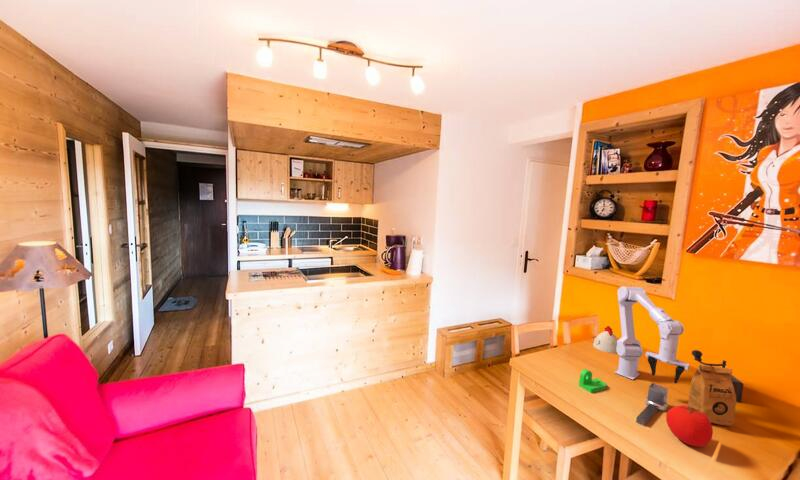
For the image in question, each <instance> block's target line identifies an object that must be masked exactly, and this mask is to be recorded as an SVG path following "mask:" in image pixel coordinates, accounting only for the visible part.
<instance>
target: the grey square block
mask: <svg viewBox="0 0 800 480" xmlns="http://www.w3.org/2000/svg"><path fill="white" fill-rule="evenodd" d="M668 390H669V388H667V387H665V386H663V385H659V384H656V383H653V382H652V383H651V384H649V386H648V390H647V391H648V392H647V397H648V399H647V400H648V401H651V402H653V403H656V404H658V405H661V406H663V405H664V404H665V403H667V400H668Z"/></svg>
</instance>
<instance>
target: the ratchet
mask: <svg viewBox="0 0 800 480" xmlns="http://www.w3.org/2000/svg"><path fill="white" fill-rule="evenodd" d="M647 399H648V396H646V398H645V405H646V407H645V408H644V409H643V410H642V411H641V412H640V413H639V414H638V415H637V416H636V420H635V423H638V424H639V425H641V426H646V425H647V423H648V422H649V421H650V420H651V419H652V417H654V416H655V414H657V412H663V413H665V412H668V403H667V402H666V403H665V404H664V405H663V406H661V405H658V404H656V403H653V402H651V401H648V400H647Z"/></svg>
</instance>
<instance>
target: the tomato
mask: <svg viewBox="0 0 800 480" xmlns="http://www.w3.org/2000/svg"><path fill="white" fill-rule="evenodd" d="M666 412H667V413H666V415H665V418H666V419H665V421H666V423H667V426H668V428H669V430H670V432H671V433H672V434H673V435H674V436H675V437H676V438H677V439H678V440H680V441H682V442H683V443H684V444H687V445H690V446H692V447H697V448H699V447H704V446H707V445H708V444H709V443H710V442H711V441H712V439H713V434H714V430H713V426H712V423H710V421H709V419H708V417H707V416H706V415H705V414H704V413H703V412H701V411H699V410H697V409H695V408H693V407H690V406H689V405H688V404H687V405H685V404H684V405H676V406H674V407H671V408H670V409H669V410H667V411H666Z"/></svg>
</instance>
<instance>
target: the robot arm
mask: <svg viewBox="0 0 800 480" xmlns="http://www.w3.org/2000/svg"><path fill="white" fill-rule="evenodd" d="M617 300H618V307H619V317H620V328H621V329H620V330H621V337H620V338H619V339H618V340H617V347H616V351H617V355H618V356H619V359H618V369H617V370H616V371H614V374H616V375H619V376H623V377H625V378H628V379H631V380H635V379H636V378H637V377H638V376H639V375H640V373H639V372H638V369H639V360H640V358H641V357H643V354H644V352H643V348H642V345H641V341H640V340H638V339H637V338H636V334H635V333H636V332H635V324H634V314H633V306H634V304H636V303H639V304H640V305H641V306H642V307H643V308H645V309H646V310H647V311H648V312H649V313H648V315H649V318H650V319H652V320H653V321H654V322H655V323H656V324H657V325H658V327H657V328H658V330H659V337H660V342H659V349H658V353H654V352H651V351H646V352H645V357H647V362H648V364H649V367H650V370H651V376H655V375H656V370H657V363H658V361H660V362H663V363H666V364H669V365H672V366H675V373H674V374H675V375H674V379H673V383H674V384H677V383H678V382H679V379H680V378H681V375H682V374H683V372H684V371H685V370H686V371H689V370H690V366H691V365H690V364H689V363H686V362H684V361H681V360H679V359H677V353H678V345H679V338H680V335H682V334H683V333H684V332H685V331H684V330H685V329H684V326H683V324H682V323H681V321H679V320H675V319H673V318H672V317H671V316H670V315H669V314H668V313H667V312H666V311H665V309H664V308H661V307H657V306H656V305H655V304H654V303H653V301H652V300H651V299H650V298H649V297H648V296H647V291H646V290H645V289H644V288H643V287H641V286H637V287H636V286H624V285H623V286H620V287H619V288H618V289H617Z"/></svg>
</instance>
